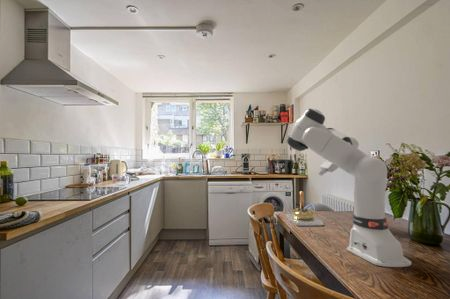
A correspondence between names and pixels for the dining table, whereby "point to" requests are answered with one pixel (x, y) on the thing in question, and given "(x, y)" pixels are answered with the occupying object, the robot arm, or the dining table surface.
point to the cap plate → (304, 221)
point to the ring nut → (303, 210)
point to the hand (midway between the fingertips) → (319, 174)
